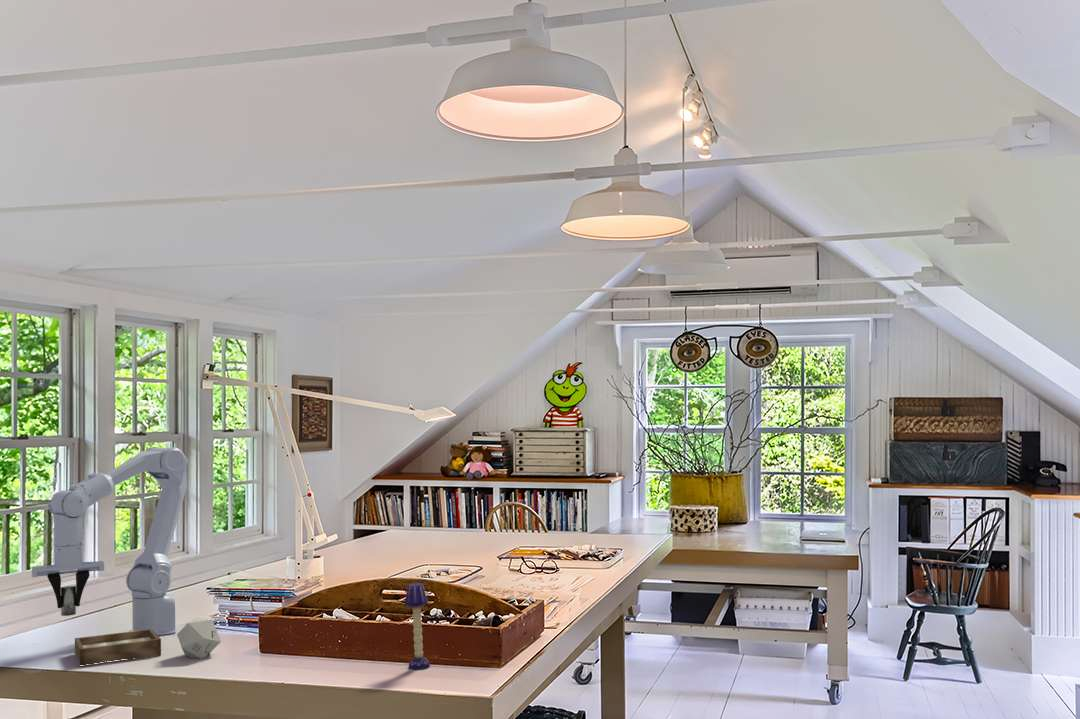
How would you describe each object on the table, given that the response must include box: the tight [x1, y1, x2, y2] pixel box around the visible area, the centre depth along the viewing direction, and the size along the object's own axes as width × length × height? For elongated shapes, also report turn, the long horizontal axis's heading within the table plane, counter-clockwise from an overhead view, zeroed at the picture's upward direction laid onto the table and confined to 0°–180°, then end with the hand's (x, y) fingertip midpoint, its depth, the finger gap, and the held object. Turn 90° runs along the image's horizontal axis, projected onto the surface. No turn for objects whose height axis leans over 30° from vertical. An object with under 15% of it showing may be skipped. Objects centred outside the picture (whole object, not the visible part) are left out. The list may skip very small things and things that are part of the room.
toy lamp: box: [404, 582, 431, 670], centre depth 206 cm, size 5×5×17 cm
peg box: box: [74, 629, 162, 666], centre depth 220 cm, size 16×12×4 cm
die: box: [176, 617, 222, 659], centre depth 218 cm, size 8×9×10 cm
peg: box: [60, 585, 77, 617], centre depth 225 cm, size 3×3×6 cm
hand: (68, 606), depth 225 cm, fingers closed on peg, 3 cm apart
